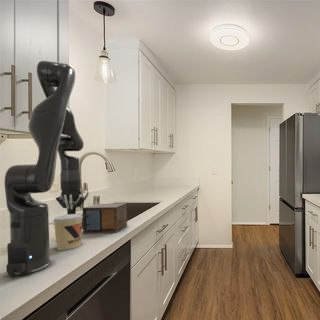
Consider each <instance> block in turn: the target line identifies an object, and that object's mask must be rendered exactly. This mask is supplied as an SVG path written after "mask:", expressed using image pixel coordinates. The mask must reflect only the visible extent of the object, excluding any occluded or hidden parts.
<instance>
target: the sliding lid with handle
mask: <svg viewBox="0 0 320 320" xmlns="http://www.w3.org/2000/svg"><path fill="white" fill-rule="evenodd" d="M85 218H86V225H85ZM85 227H86V230H101V226H100V210H86V216H83V215H82V230H83V229H85Z"/></svg>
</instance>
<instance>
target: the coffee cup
mask: <svg viewBox="0 0 320 320" xmlns="http://www.w3.org/2000/svg"><path fill="white" fill-rule="evenodd" d="M82 216H83V214H81V213H76V214H69V215H67V214H63V215H59V216H56V217H55V218H54V219H53V226H54V235H55V244H56V249H57V250H59V251H66V250H72V249H76V248H77V247H80V246H81V243H82V232H83V229H82Z"/></svg>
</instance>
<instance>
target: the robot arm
mask: <svg viewBox="0 0 320 320" xmlns="http://www.w3.org/2000/svg"><path fill="white" fill-rule="evenodd" d="M36 75H37V79H38V83H39V85H40V87H41V89H42V92H43V94H44V96H45V99H43V100H41V102H39V103H38V104H37V105H36V106H35V107H34V108H33V109H32V111H31V115H30V118H29V121H28V127H27V129H28V132H29V134H30V136H31V138H32V139H33V142H34V143H35V145H36V146H37V147H36V148H37V150H38V157H37V161H36V163H35V164H15V165H12V166H10V167H9V168H8V169H7V170H6V172H5V175H4V182H3V183H4V192H5V203H6V208H7V211H8V212H9V235H10V236H9V238H10V239H9V240H10V242H8V243H7V248H6V249H7V251H6V252H7V264H6V273H7V276H11V277H12V278H15V277H17V276H27V275H31V274H33V273H36V272H40V271H41V270H44V269H46V268H48V267H49V266H50V265H51V254H50V253H51V252H50V220H49V218H50V216H49V205H48V203H46V202H42V201H39V200H37V199H35V198H33V196H32V194H44V193H47V192H49V191H50V190H51V188H52V186H53V185H54V181H55V177H56V170H57V169H56V167H57V158H58V157H59V160H60V173H59V174H60V175H59V176H60V180H59V181H60V191H61V193H60V195H59V196H57V197H56V198H55V200H56V201H57V203H58V204H59V205H60V206H61V208H63V209H66V211H67V213H66V215H69V214H77V210H76V209H77V208H79V207H81V206H82V204H83V203H84V202H85V200H86V199H87V196H86V195H83V194H82V192H81V189H82V182H81V171H80V168H81V167H80V158H79V157H78V156H73V155H69V154H68V153H67V152H80V151H82V150H83V149H84V147H85V146H84V140H83V137H82V136H81V134H80V133H79V131H78V129H77V126H76V120H75V115H74V113H73V111H72V109H70V107H69V106H68V104H69V101H70V99H71V94H72V92H73V90H74V86H75V82H76V70H75V68H74V66H72V65H71V64H67V63H63V62H58V61H57V62H56V61H50V60H40V61H38V63H37V65H36ZM55 88H56V89H55Z"/></svg>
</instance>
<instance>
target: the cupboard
mask: <svg viewBox="0 0 320 320" xmlns="http://www.w3.org/2000/svg"><path fill="white" fill-rule="evenodd" d="M127 205H128V204H127V202H124V203H123V202H122V203H121V202H119V203H93V204H91V205H87V206H84V207H82V216H86V210H100V226H101V230H86V227H85V229H82V233H83V234H111V233H112V234H113V233H114V234H115V233H118V232H120V231H121V230H124V229H126V228H127V227H128V211H127V209H128V208H127ZM85 225H86V218H85Z"/></svg>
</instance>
